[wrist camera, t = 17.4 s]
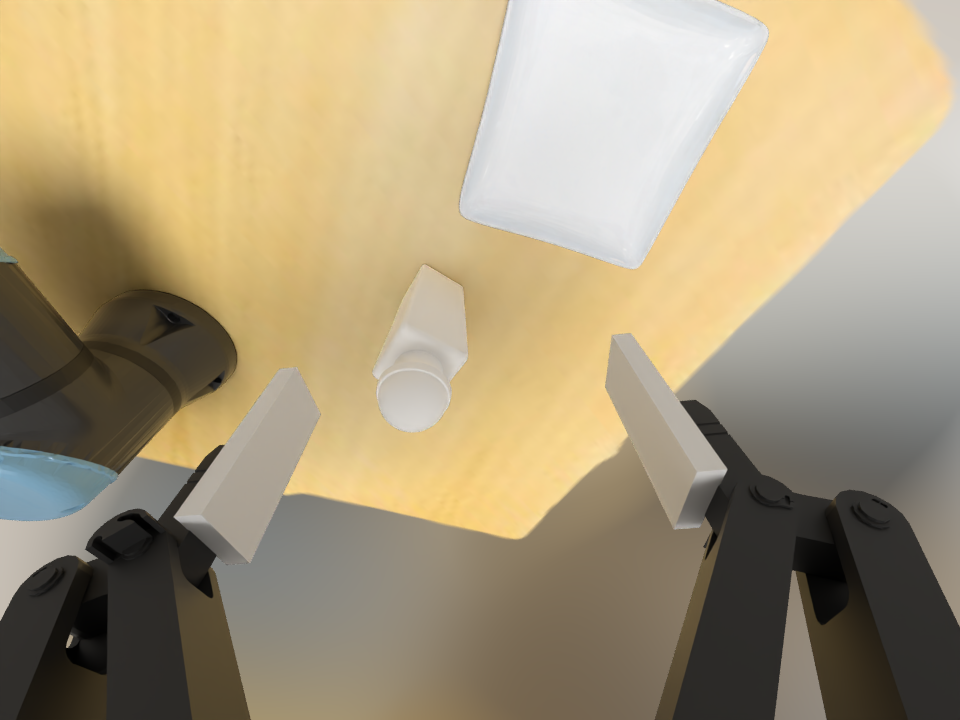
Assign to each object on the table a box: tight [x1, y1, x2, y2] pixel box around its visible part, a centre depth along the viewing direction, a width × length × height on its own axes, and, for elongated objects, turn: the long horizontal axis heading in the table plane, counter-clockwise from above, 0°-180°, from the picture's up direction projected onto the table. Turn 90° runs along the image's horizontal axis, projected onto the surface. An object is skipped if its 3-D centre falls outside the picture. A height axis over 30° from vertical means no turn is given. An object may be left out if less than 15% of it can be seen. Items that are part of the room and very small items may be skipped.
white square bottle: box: [372, 264, 468, 432], centre depth 35 cm, size 6×6×22 cm
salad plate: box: [459, 0, 769, 269], centre depth 34 cm, size 21×21×3 cm
